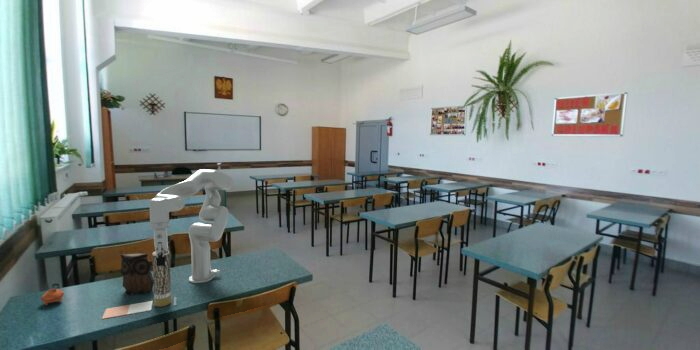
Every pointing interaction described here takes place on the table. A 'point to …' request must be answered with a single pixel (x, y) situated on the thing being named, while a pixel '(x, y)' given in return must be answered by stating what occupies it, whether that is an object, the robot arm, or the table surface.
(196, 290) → the table surface
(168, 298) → the birch log
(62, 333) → the table surface
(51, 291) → the pot
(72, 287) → the table surface
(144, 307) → the board
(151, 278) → the brown owl figurine
